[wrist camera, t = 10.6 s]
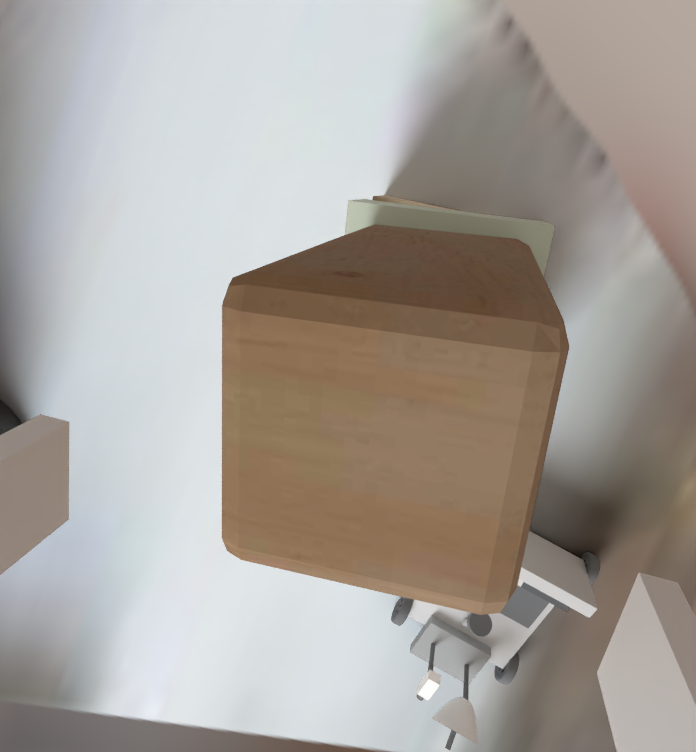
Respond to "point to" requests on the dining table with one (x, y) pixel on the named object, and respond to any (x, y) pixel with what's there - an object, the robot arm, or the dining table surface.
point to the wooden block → (391, 412)
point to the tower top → (452, 223)
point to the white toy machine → (496, 626)
